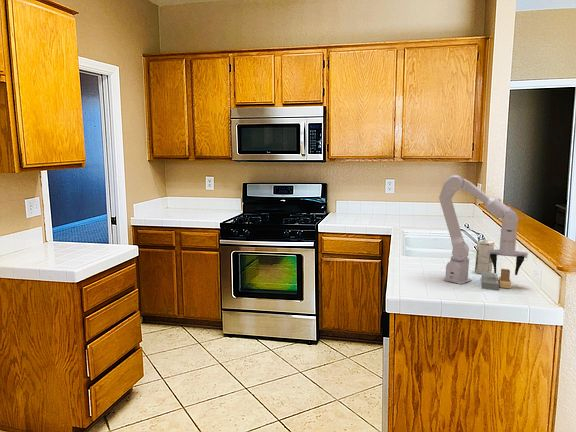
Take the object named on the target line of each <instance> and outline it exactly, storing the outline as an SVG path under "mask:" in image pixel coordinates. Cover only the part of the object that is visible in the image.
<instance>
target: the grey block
mask: <svg viewBox="0 0 576 432" xmlns="http://www.w3.org/2000/svg"><path fill="white" fill-rule="evenodd" d="M481 289H484V290H490V291H491V290H492V291H499V289H500V287H499V276H498V273H494V272H491V273H485V272H482V274H481Z"/></svg>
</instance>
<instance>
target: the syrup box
mask: <svg viewBox="0 0 576 432" xmlns="http://www.w3.org/2000/svg"><path fill="white" fill-rule="evenodd" d="M488 249H492V250H495V242H494V241H491V240H485V239H481V240H479V241H477V243H476V254H475V267H474V273H475V274H478V275H482V272H485V273H493V272H492V271H493V263H492V260H491V257H490V255H487V250H488Z"/></svg>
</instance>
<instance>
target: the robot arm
mask: <svg viewBox="0 0 576 432" xmlns="http://www.w3.org/2000/svg"><path fill="white" fill-rule="evenodd" d="M460 189H461V192H465V193H467V192H468V193H470V194H471V195H472V196H473V197H475V198H477V199H478V200H479V201H481V202H482V203H483V204H484V208H485V209H486V210H487V211H488V212H489V213H491V215H493V216H495V217H496V218H497V219H500V220H501V221H502V223H501V228H500V238H499V239H500V240H499V249H494V250H492V249H488V250H487V255H490V257H491V260H492V267H493V273H495V274H497V261H498V256H502V257H504V256H505V257H515V258H516V259H515V260H516V261H515V270H514V276H518V273H519V270H520V268H521V266H522V264H523V263H524V261H525V259H527V258H528V254H529V253H528V252H527V251H517V250H516V247H517V245H516V244H517V234H518V233H517V231H518V229H517V228H518V227H517V226H518V225H517V224H518V223H519V216H518V214H517V213H516V211H515V210H514V209H512V208H511V206H507V205H506V204H505V203H503V202H502V199H501V198H497V197H490V196H488V195H487V194H486V193H485V192H483V190H481V189H480V188H478V186H477V185H475V184H474V183H472V181H469V180H467V179H466V178H463V177H462V176H460V175H458V174H452V175H450V176H449V177H448V178H447V179H446V180H445V181H444V183H443V185H442V188H441V190H440V194H439V197H438V199H439V202H440V207H441V209H442V213H443V216H444V220H445V223H446V226H447V230H448V234H449V237H450V241H451V245H452V251H451V254H452V256H450V259H449V260H450V261H449V262H447V263H446V266H445V275H444V276H445V278H443V279H442V280H443V281H445V282H450V283H454V284H458V285H463V284H465V283H468V282H471V281H473V279H472V278H469V270H470V269H469V268H470V266H469V265H470V258H469V257H468V256H469V251H470V248H469V246H468V244H467V243H466V242H465V239H464V236H463V234H462V233H463V232H462V231H461V227H460V224H459V220H458V217H457V214H456V211H455V206H454V203H453V197H454V195H455V194H456V193H457V192H458V191H459V190H460Z"/></svg>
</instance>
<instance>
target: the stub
mask: <svg viewBox="0 0 576 432" xmlns="http://www.w3.org/2000/svg"><path fill="white" fill-rule="evenodd" d="M500 269H501V270H500V276H498V281H499V288H503V289H511V288H512V281H511V279H510V277H511V276H510V275H511V271H510V269H507V268H500Z"/></svg>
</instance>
